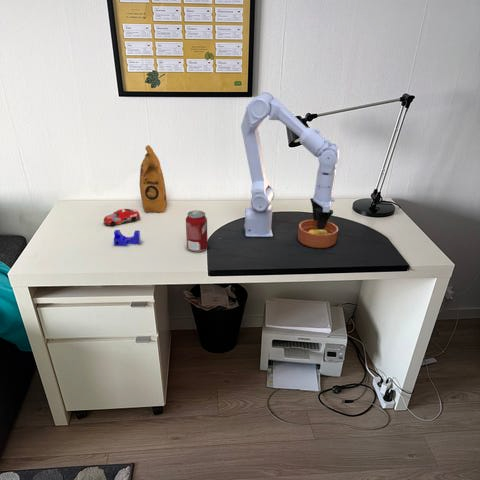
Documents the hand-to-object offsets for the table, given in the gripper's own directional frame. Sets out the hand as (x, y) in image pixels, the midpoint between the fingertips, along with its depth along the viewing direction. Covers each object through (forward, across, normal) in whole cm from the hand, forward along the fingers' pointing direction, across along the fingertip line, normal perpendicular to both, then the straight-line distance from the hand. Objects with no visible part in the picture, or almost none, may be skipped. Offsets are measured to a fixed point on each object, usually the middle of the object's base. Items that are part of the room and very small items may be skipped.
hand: (318, 224), depth 148 cm
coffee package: (+6, +28, +59) cm, 66 cm away
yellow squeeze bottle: (+5, 0, 0) cm, 5 cm away
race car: (+6, +14, +69) cm, 71 cm away
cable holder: (+6, -4, +64) cm, 64 cm away
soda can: (+6, -7, +41) cm, 42 cm away
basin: (+6, 0, 0) cm, 6 cm away
